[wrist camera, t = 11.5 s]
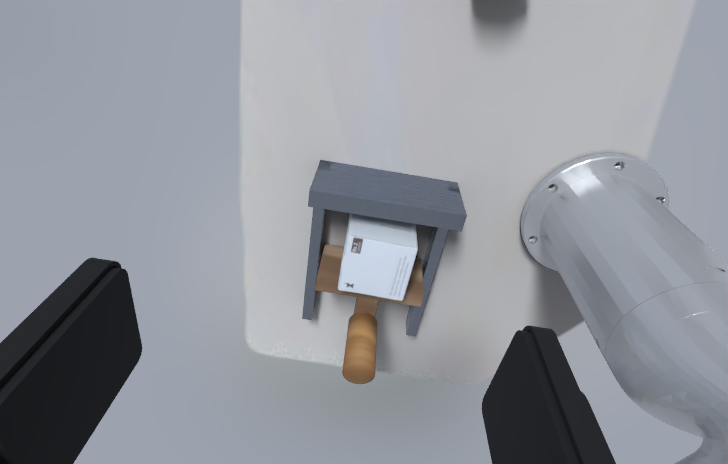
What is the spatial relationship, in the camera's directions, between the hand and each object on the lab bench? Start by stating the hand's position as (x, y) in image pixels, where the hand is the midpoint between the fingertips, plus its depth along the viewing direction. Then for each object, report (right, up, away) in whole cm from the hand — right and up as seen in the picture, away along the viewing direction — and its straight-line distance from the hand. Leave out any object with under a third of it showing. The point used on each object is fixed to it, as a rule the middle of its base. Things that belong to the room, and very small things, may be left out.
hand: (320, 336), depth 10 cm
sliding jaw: (+2, -2, +35) cm, 35 cm away
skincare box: (+3, +3, +32) cm, 32 cm away
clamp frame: (+2, +1, +33) cm, 33 cm away
